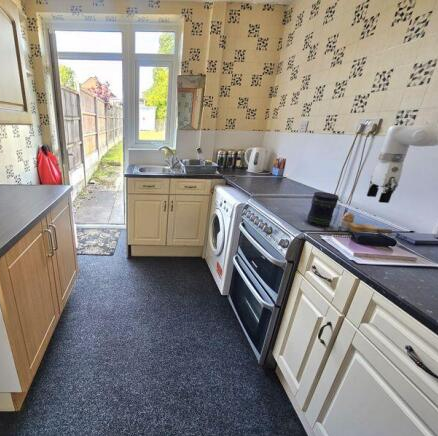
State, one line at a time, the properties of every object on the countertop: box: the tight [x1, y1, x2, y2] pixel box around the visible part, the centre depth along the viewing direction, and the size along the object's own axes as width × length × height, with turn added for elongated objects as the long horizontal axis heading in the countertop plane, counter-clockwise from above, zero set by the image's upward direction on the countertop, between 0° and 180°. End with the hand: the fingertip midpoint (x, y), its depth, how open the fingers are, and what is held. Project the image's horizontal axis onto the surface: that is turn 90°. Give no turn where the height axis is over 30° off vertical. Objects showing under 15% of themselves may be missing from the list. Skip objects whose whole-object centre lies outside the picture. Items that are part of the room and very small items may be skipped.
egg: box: [337, 212, 356, 230], centre depth 118 cm, size 6×6×7 cm
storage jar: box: [306, 191, 340, 229], centre depth 119 cm, size 10×10×15 cm
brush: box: [346, 222, 394, 235], centre depth 109 cm, size 16×5×4 cm, turn 72°
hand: (377, 199), depth 104 cm, fingers open, 9 cm apart
